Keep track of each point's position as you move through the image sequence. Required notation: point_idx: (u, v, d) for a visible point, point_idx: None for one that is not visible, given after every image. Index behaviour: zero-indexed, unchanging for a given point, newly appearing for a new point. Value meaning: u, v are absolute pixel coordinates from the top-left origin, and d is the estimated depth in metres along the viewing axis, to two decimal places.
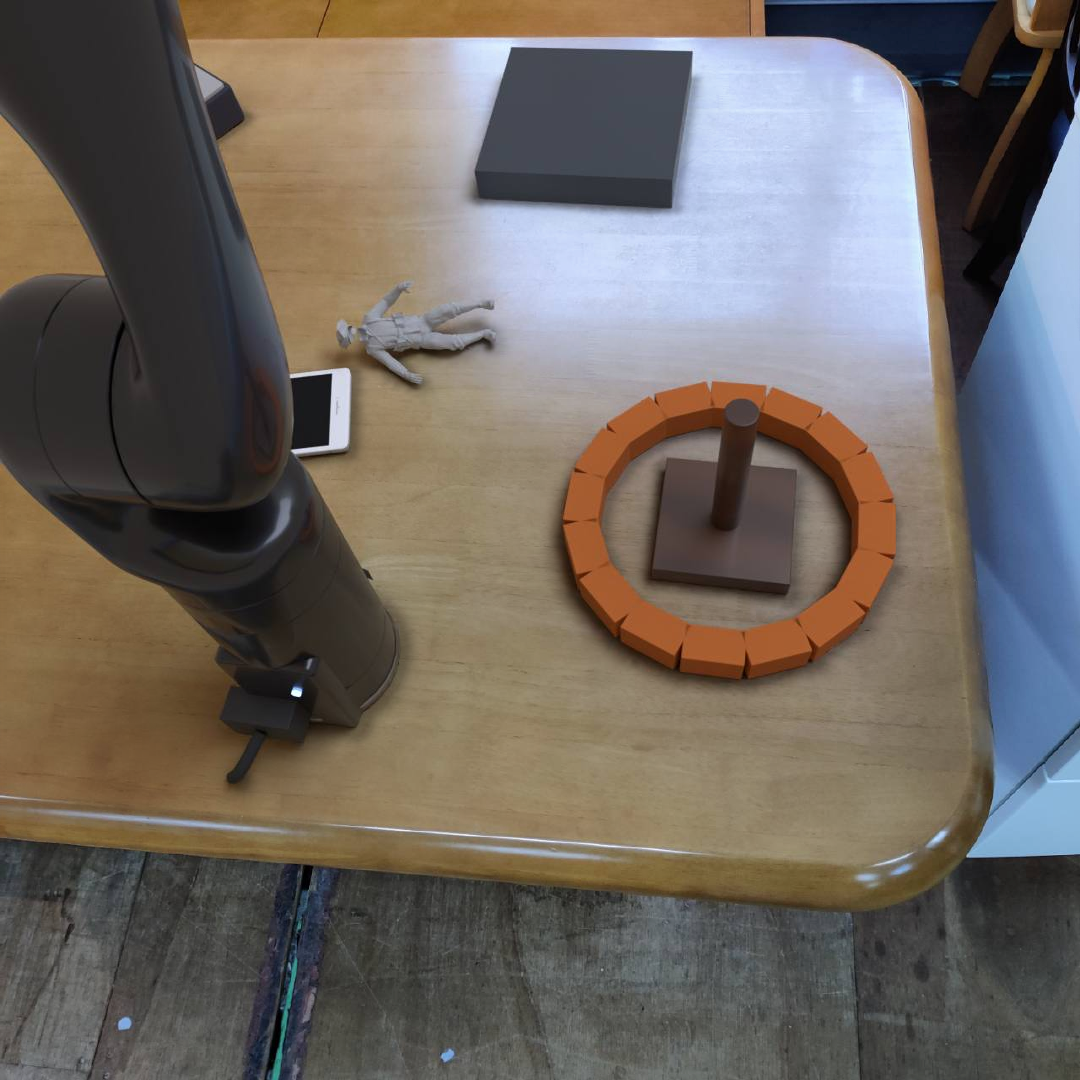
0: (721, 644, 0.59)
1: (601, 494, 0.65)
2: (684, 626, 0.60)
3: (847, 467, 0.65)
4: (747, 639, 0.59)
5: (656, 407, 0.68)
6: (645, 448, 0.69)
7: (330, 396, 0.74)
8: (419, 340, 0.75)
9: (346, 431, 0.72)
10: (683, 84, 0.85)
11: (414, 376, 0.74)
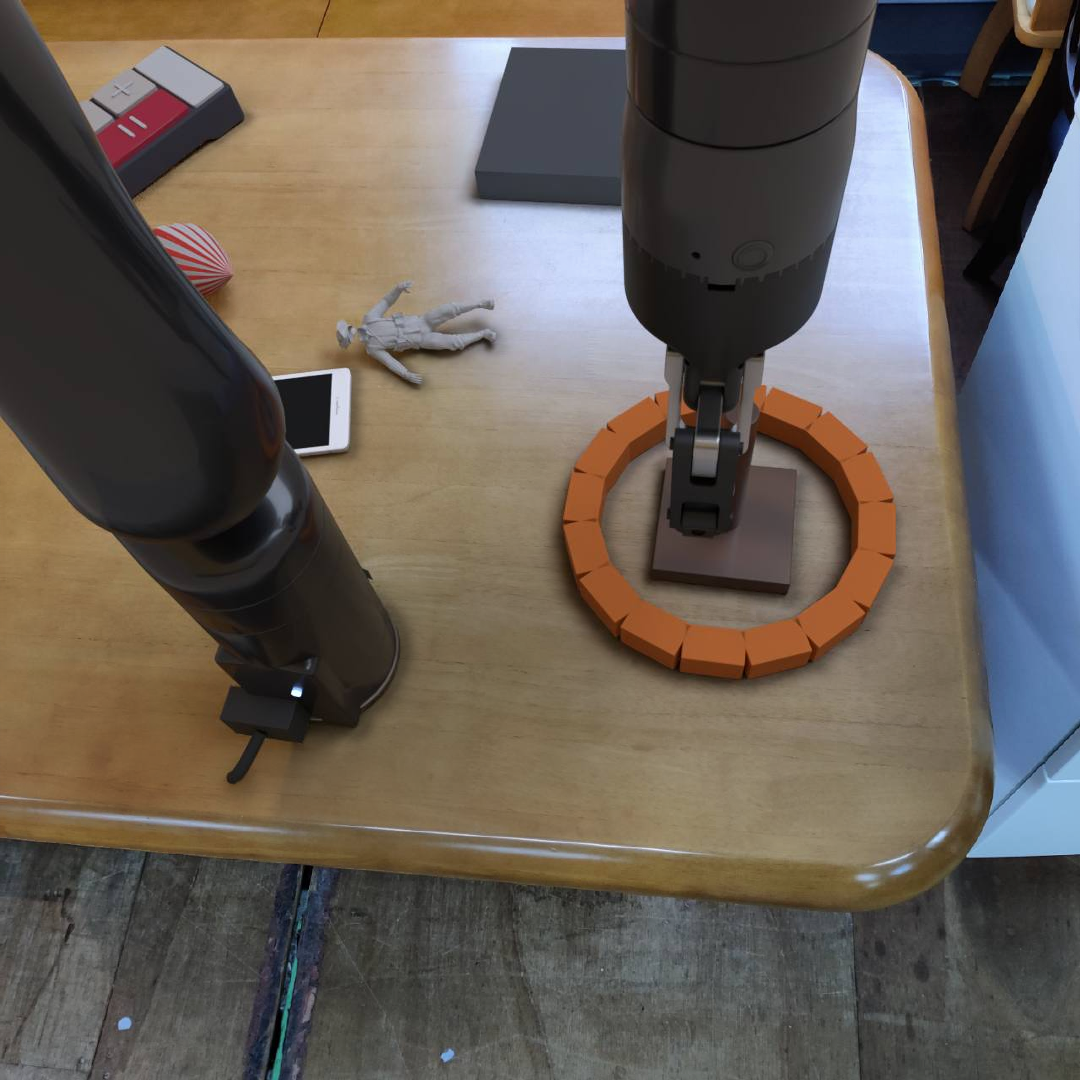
0: (721, 644, 0.59)
1: (601, 494, 0.65)
2: (684, 626, 0.60)
3: (847, 467, 0.65)
4: (747, 639, 0.59)
5: (656, 407, 0.68)
6: (645, 448, 0.69)
7: (330, 396, 0.74)
8: (419, 340, 0.75)
9: (345, 431, 0.72)
10: None
11: (414, 376, 0.74)
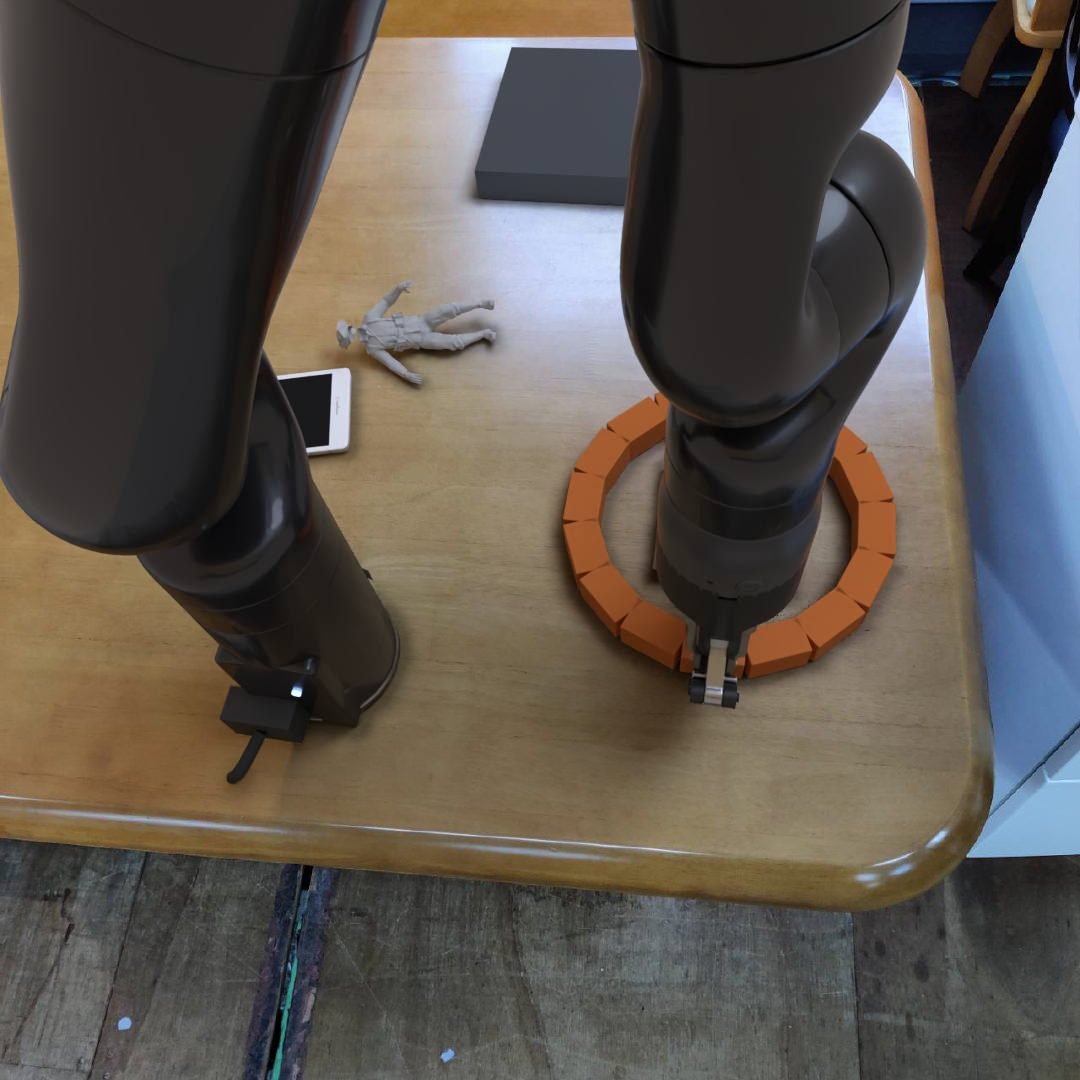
0: None
1: (601, 494, 0.65)
2: (684, 625, 0.60)
3: (847, 467, 0.65)
4: None
5: (656, 407, 0.69)
6: (645, 448, 0.69)
7: (330, 396, 0.74)
8: (419, 340, 0.75)
9: (346, 431, 0.72)
10: None
11: (414, 376, 0.74)
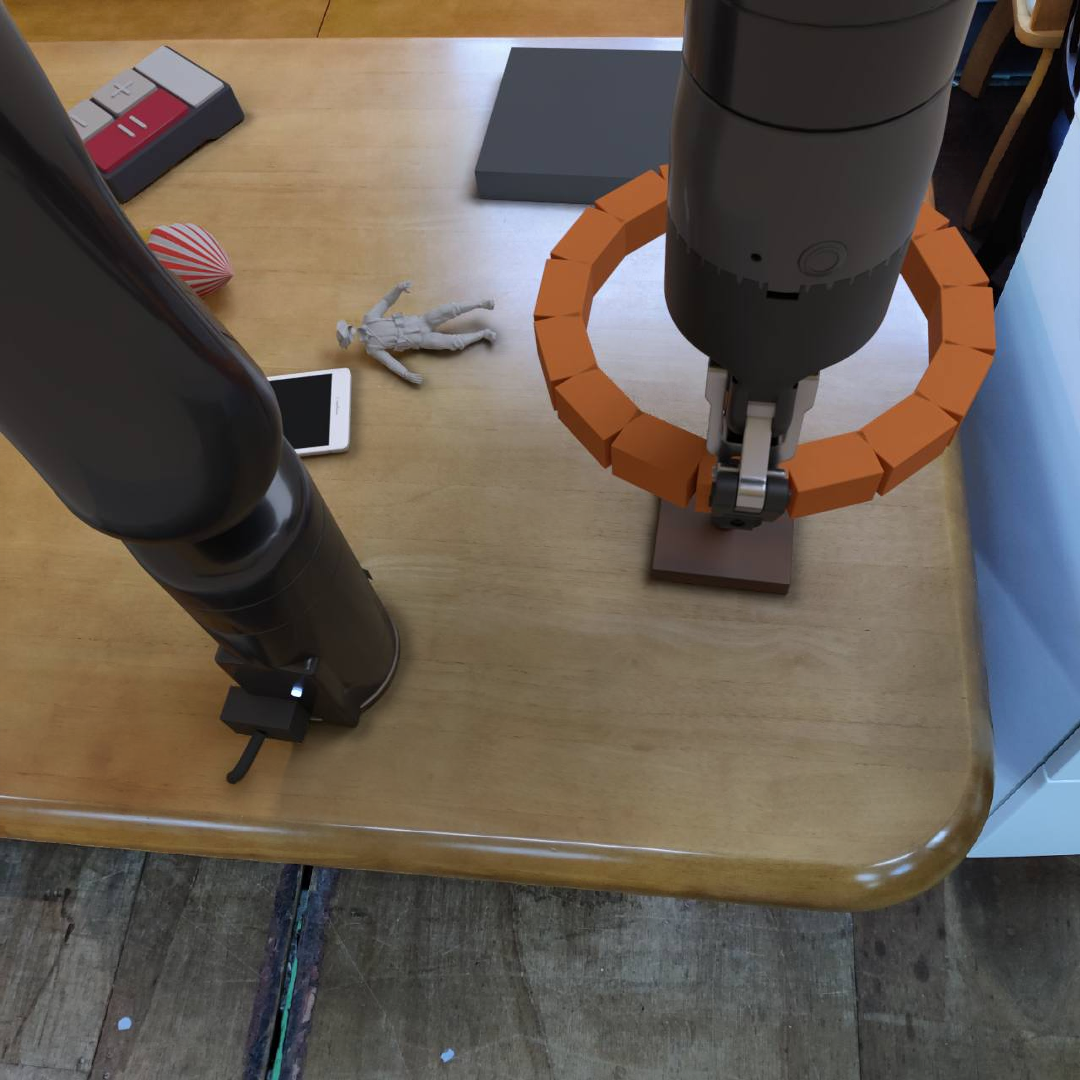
0: None
1: (586, 284, 0.48)
2: (701, 443, 0.43)
3: (922, 245, 0.47)
4: None
5: (661, 181, 0.51)
6: (646, 239, 0.52)
7: (330, 396, 0.74)
8: (419, 340, 0.75)
9: (345, 431, 0.72)
10: None
11: (414, 376, 0.74)
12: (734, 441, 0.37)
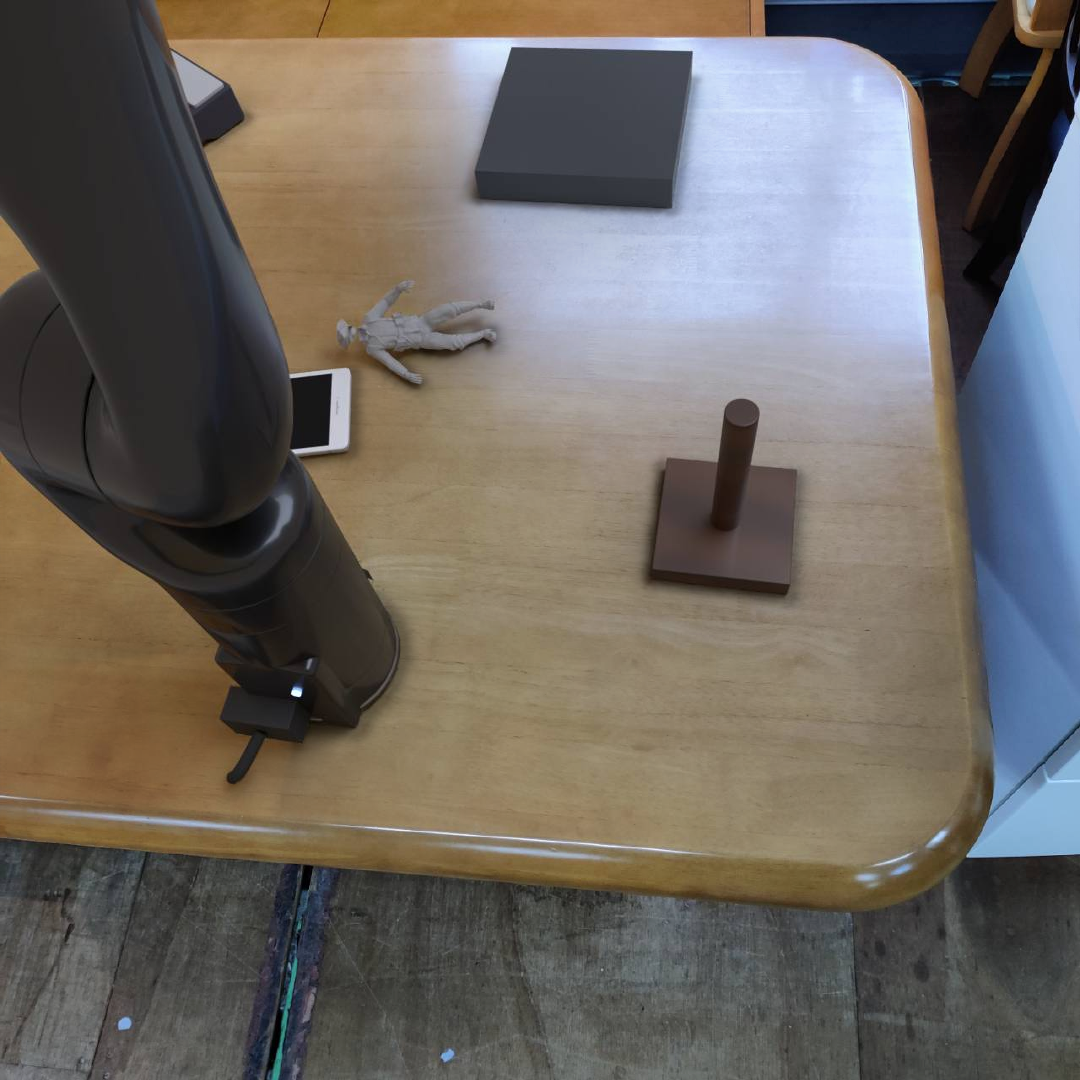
0: None
1: None
2: None
3: None
4: None
5: None
6: None
7: (330, 396, 0.74)
8: (419, 340, 0.75)
9: (345, 431, 0.72)
10: (683, 84, 0.85)
11: (414, 376, 0.74)
12: None
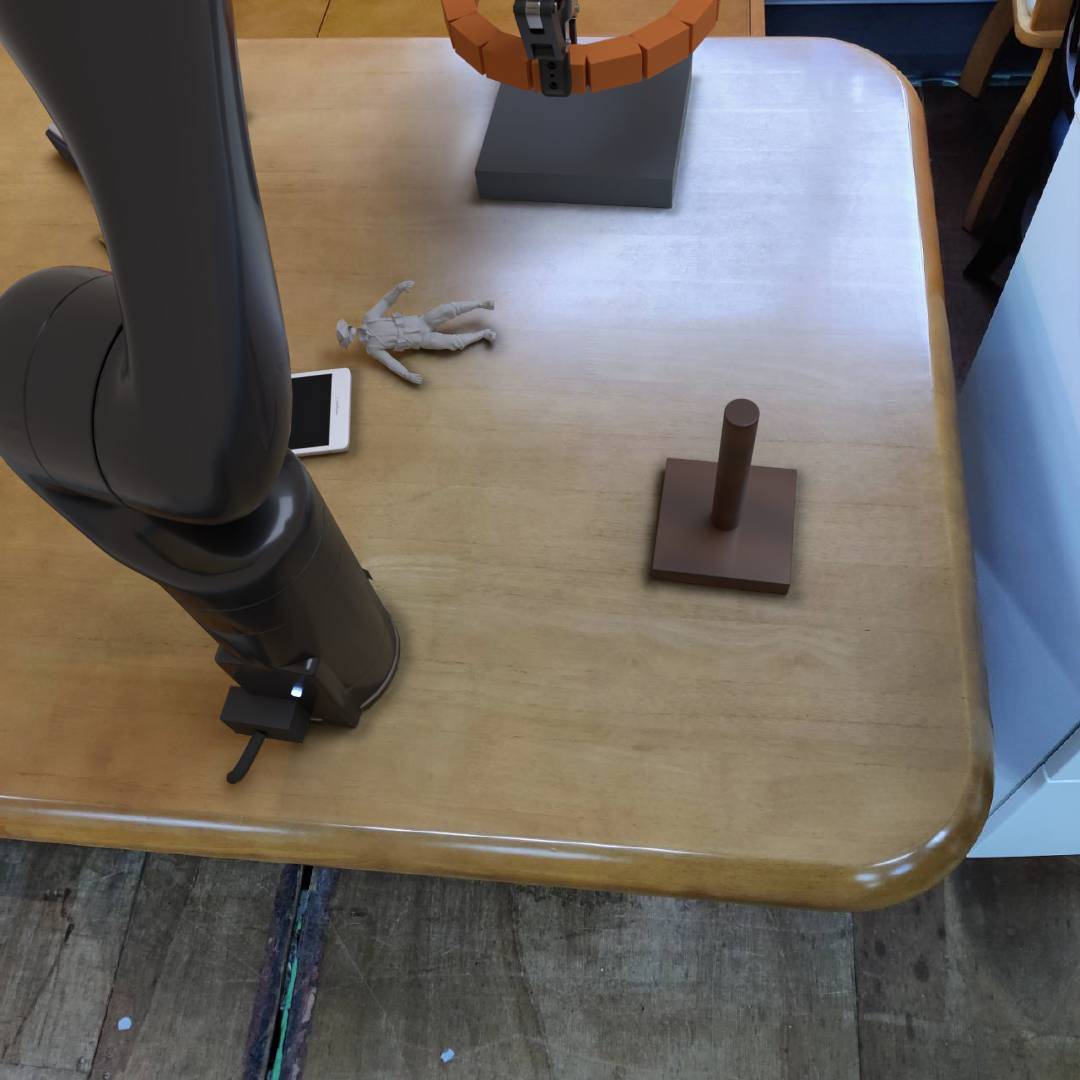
0: None
1: None
2: None
3: None
4: (588, 49, 0.69)
5: None
6: None
7: (330, 396, 0.74)
8: (419, 340, 0.75)
9: (345, 431, 0.72)
10: (683, 84, 0.85)
11: (414, 376, 0.74)
12: None
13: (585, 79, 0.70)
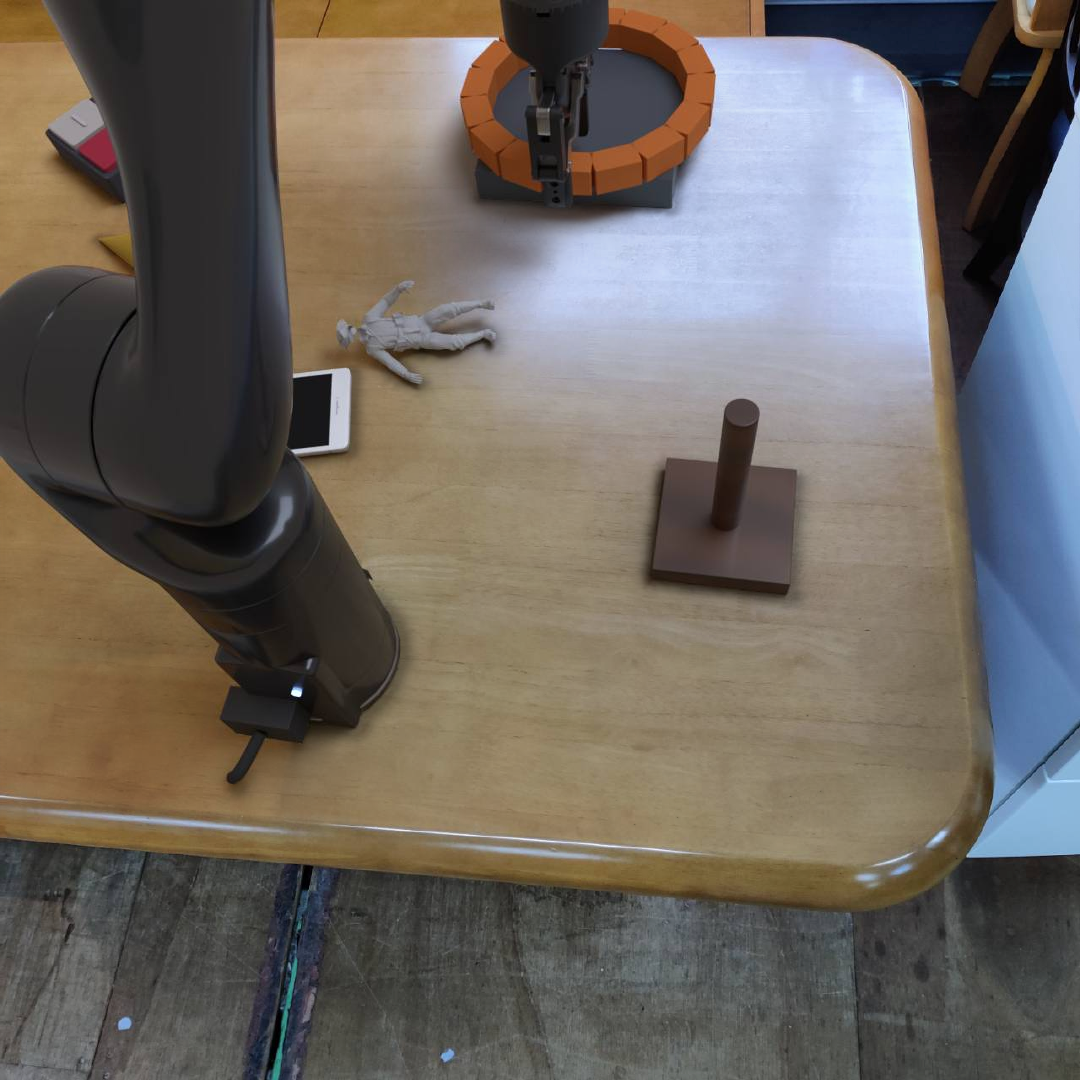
0: (574, 161, 0.78)
1: (491, 79, 0.84)
2: None
3: (681, 54, 0.83)
4: (594, 157, 0.78)
5: None
6: None
7: (330, 396, 0.74)
8: (419, 340, 0.75)
9: (345, 431, 0.72)
10: None
11: (414, 376, 0.74)
12: None
13: (591, 183, 0.78)
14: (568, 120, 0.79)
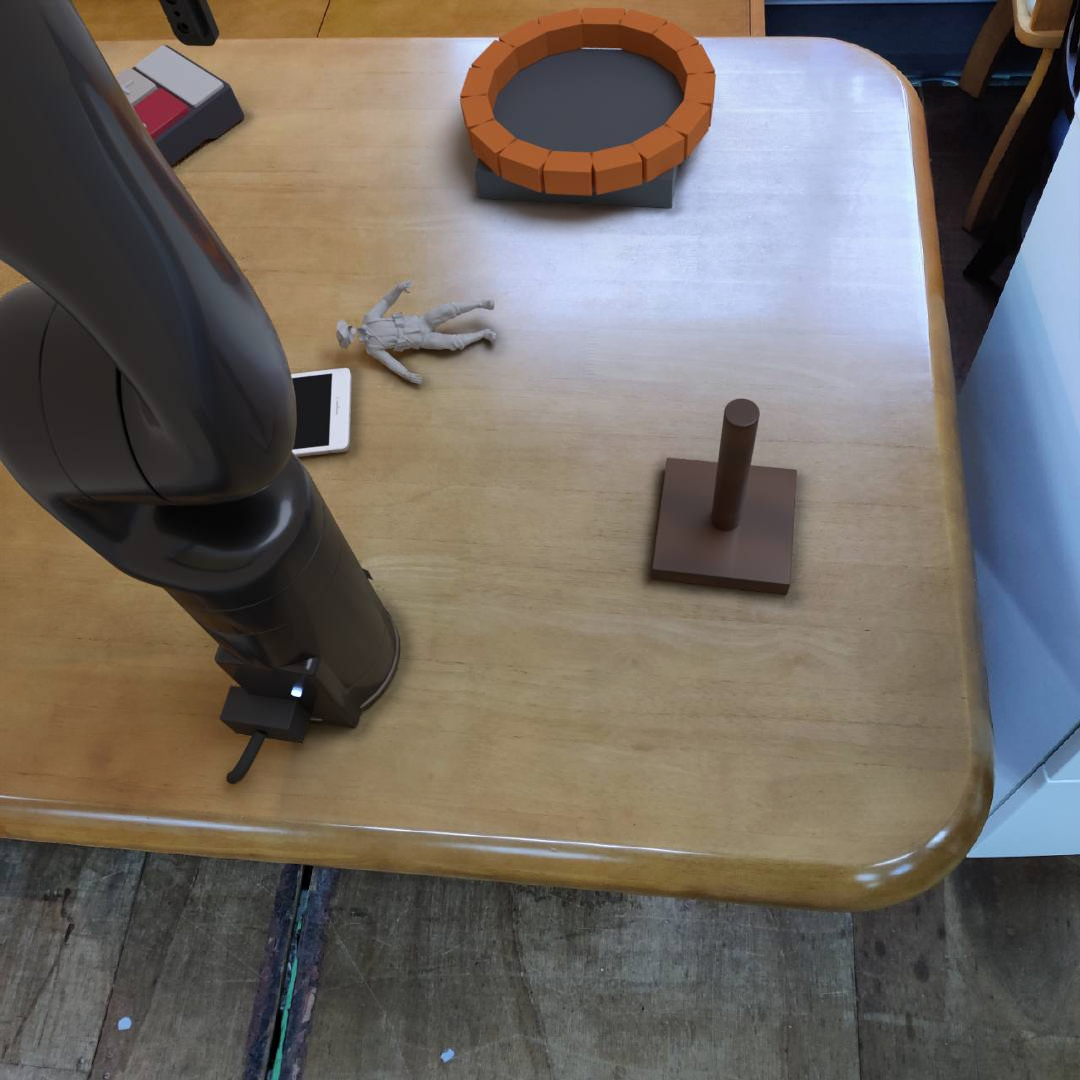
0: (574, 161, 0.78)
1: (491, 79, 0.84)
2: (547, 152, 0.78)
3: (681, 54, 0.83)
4: (594, 157, 0.78)
5: (538, 25, 0.87)
6: (530, 61, 0.88)
7: (330, 396, 0.74)
8: (419, 340, 0.75)
9: (346, 431, 0.72)
10: None
11: (414, 376, 0.74)
12: None
13: (591, 183, 0.78)
14: None
